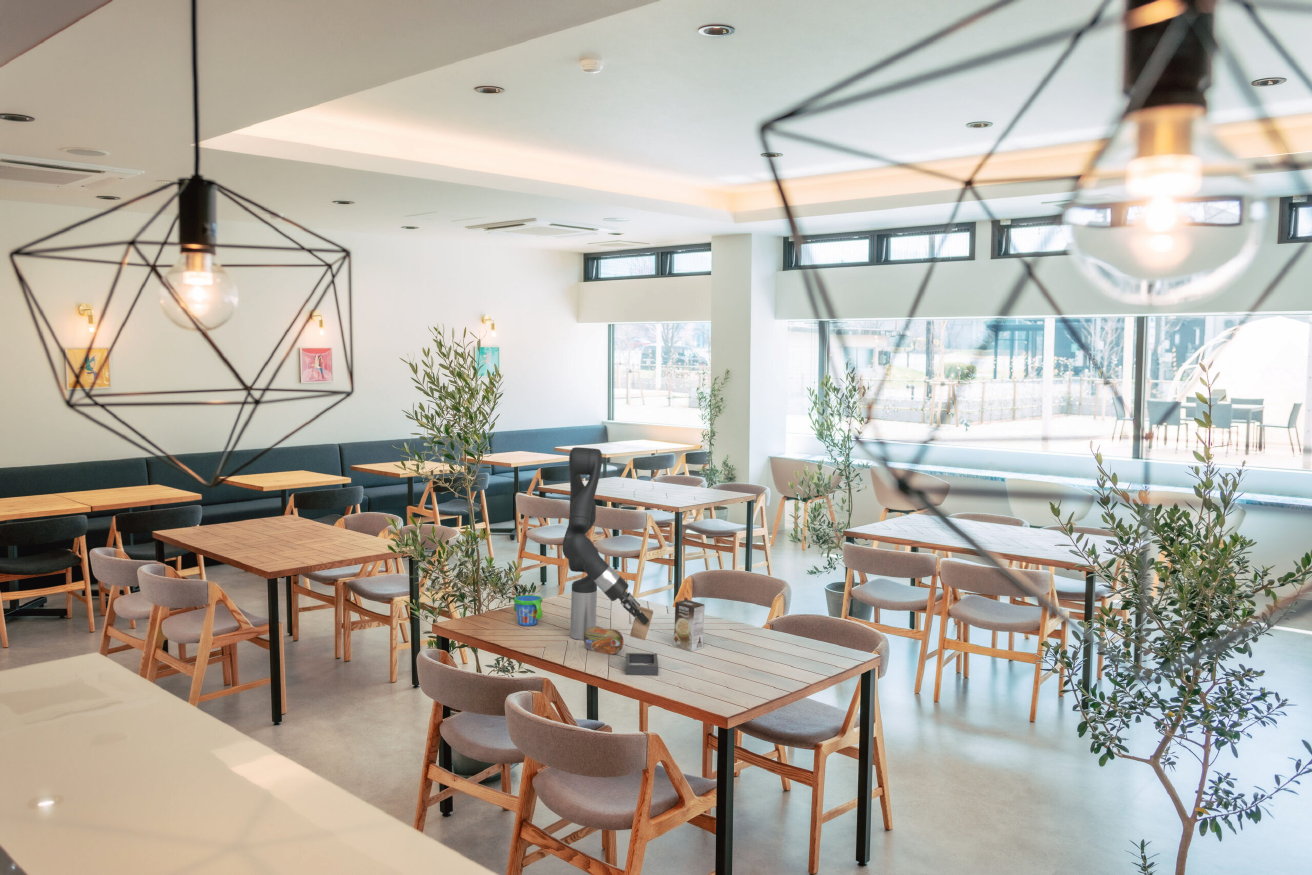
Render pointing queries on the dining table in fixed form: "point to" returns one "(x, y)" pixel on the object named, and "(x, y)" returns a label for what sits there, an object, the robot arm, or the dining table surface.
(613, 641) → the tin
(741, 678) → the dining table surface
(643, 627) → the block
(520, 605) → the snack cup
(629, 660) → the dark grey tray
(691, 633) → the coffee box
